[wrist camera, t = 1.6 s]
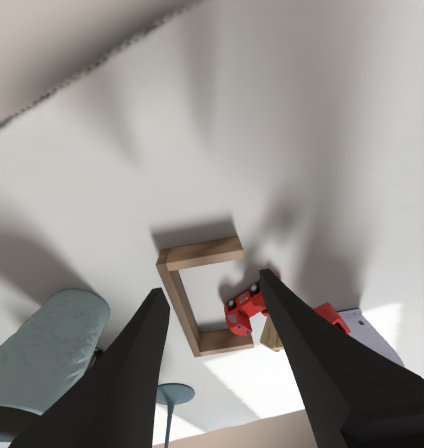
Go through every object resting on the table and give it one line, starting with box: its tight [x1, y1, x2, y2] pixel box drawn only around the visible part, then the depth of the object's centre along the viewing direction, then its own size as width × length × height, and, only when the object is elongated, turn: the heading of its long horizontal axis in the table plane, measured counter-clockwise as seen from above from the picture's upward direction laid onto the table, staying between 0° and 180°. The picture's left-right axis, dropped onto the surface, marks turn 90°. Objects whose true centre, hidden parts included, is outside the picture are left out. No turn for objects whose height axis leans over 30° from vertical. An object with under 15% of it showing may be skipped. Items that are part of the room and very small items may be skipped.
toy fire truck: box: [224, 280, 351, 352], centre depth 22 cm, size 3×14×10 cm, turn 133°
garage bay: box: [156, 236, 254, 357], centre depth 25 cm, size 10×20×3 cm, turn 10°
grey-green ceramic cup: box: [0, 289, 110, 442], centre depth 21 cm, size 10×10×12 cm
